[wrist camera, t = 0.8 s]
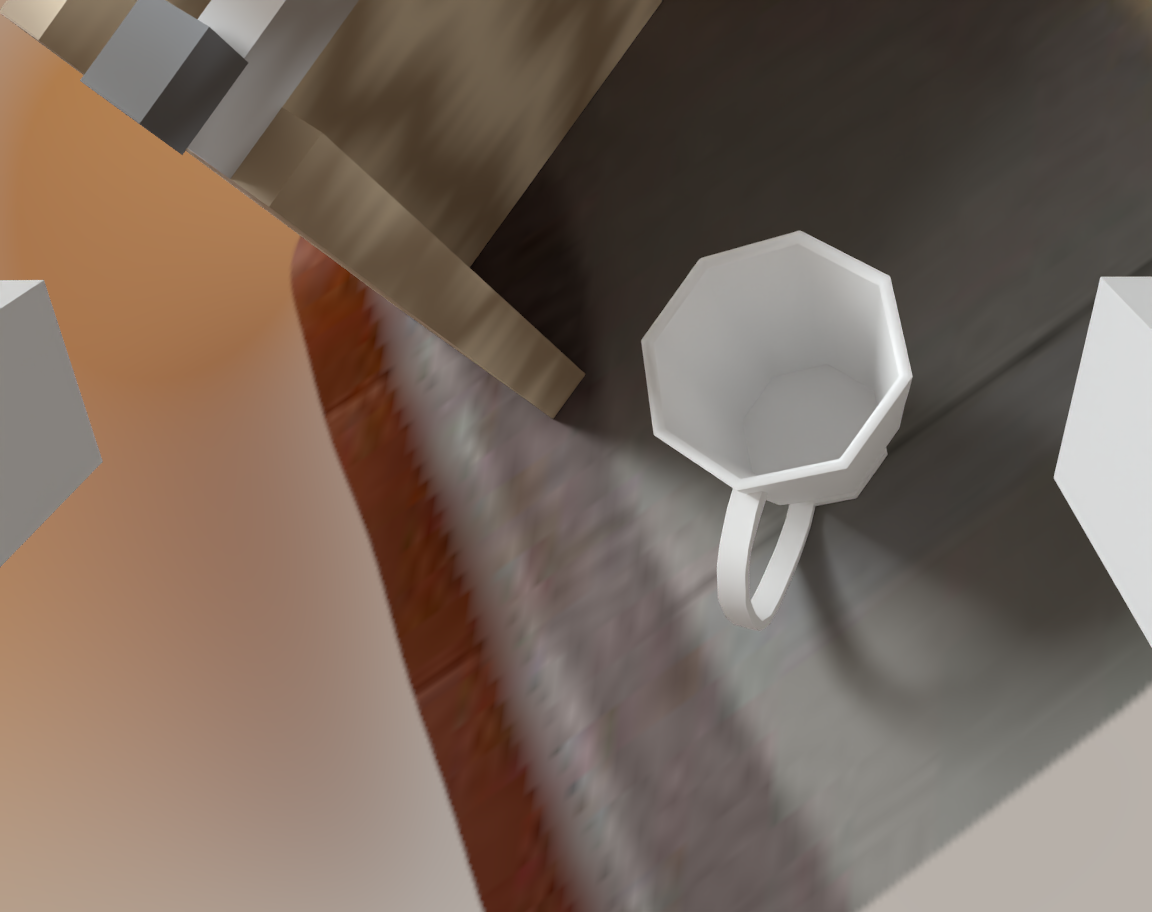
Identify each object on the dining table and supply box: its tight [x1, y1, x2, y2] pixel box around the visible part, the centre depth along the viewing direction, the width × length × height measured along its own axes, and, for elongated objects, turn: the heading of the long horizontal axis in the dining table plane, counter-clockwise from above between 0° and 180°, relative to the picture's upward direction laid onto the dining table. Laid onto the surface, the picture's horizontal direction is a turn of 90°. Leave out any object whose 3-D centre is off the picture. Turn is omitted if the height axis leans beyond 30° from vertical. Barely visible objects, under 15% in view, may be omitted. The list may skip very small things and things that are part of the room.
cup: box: [641, 230, 913, 631], centre depth 29 cm, size 7×10×8 cm
